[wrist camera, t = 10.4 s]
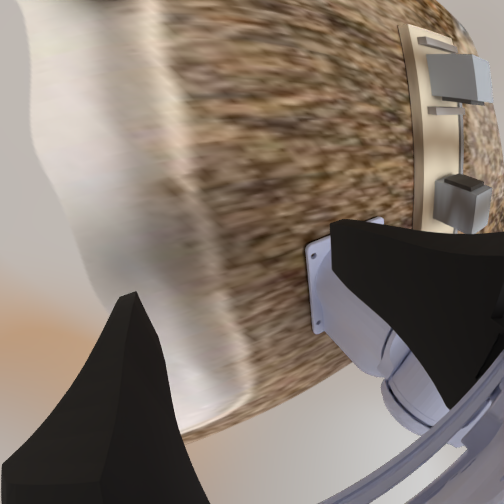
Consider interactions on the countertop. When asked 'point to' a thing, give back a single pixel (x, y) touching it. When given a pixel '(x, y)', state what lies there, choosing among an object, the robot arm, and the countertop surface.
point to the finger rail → (439, 146)
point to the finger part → (460, 78)
